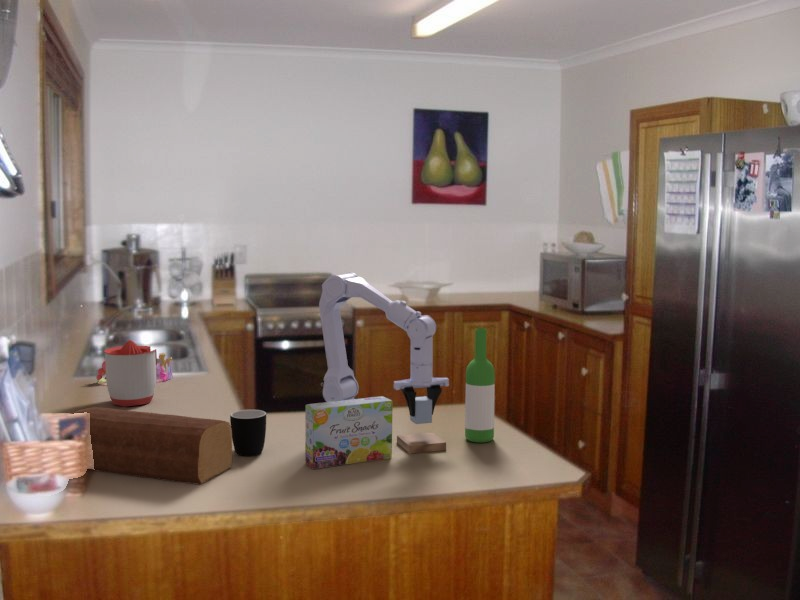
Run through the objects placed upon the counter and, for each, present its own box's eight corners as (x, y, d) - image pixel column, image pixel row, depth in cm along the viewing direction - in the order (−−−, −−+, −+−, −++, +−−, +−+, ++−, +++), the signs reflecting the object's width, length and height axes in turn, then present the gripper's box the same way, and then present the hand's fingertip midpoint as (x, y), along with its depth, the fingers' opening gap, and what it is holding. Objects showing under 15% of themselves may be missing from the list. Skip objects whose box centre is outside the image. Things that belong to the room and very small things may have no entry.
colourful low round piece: (121, 372, 319) (120, 347, 318) (182, 374, 316) (181, 349, 315) (88, 387, 294) (87, 360, 293) (154, 389, 291) (153, 362, 290)
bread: (199, 487, 193) (197, 429, 191) (60, 468, 206) (57, 413, 205) (235, 467, 208) (234, 413, 206) (103, 450, 221) (101, 399, 219)
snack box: (313, 470, 205) (312, 408, 203) (305, 464, 210) (304, 403, 208) (393, 458, 214) (393, 399, 212) (383, 452, 219) (383, 394, 217)
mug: (274, 452, 218) (273, 413, 217) (244, 460, 212) (243, 420, 211) (246, 443, 227) (246, 405, 226) (217, 450, 221) (216, 411, 219)
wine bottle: (482, 445, 225) (483, 332, 222) (458, 439, 230) (460, 328, 227) (499, 439, 231) (501, 328, 227) (476, 433, 236) (478, 325, 233)
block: (415, 424, 221) (416, 401, 220) (410, 420, 225) (410, 397, 224) (431, 422, 222) (432, 400, 222) (426, 418, 226) (426, 396, 226)
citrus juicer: (170, 403, 270) (168, 340, 267) (114, 411, 260) (111, 345, 258) (154, 394, 282) (152, 333, 280) (100, 401, 273) (97, 338, 270)
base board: (409, 453, 218) (409, 445, 218) (396, 442, 227) (396, 435, 227) (446, 449, 221) (446, 442, 221) (432, 439, 231) (432, 432, 230)
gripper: (399, 368, 216) (399, 420, 217) (453, 364, 220) (453, 416, 222) (391, 362, 222) (391, 414, 224) (443, 359, 227) (442, 409, 228)
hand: (421, 414), depth 223 cm, fingers closed on block, 4 cm apart
